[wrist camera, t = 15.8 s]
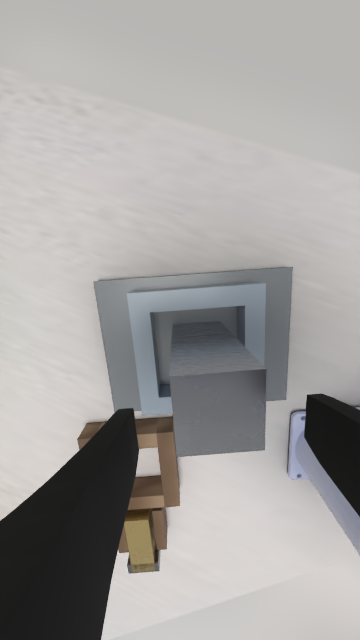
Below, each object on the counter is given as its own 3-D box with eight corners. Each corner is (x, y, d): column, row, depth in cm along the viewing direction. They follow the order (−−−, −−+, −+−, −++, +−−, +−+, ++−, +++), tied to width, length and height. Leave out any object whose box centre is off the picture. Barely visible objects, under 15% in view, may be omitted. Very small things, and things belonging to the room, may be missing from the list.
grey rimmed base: (285, 267, 17) (308, 265, 14) (280, 393, 20) (298, 414, 17) (98, 281, 17) (82, 282, 14) (117, 405, 20) (107, 428, 17)
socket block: (173, 416, 20) (172, 432, 18) (182, 524, 23) (183, 547, 21) (86, 423, 20) (77, 439, 18) (108, 530, 23) (102, 554, 21)
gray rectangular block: (219, 320, 17) (266, 368, 8) (221, 364, 18) (264, 450, 9) (172, 324, 17) (169, 376, 8) (176, 368, 18) (176, 456, 9)
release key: (154, 493, 22) (152, 519, 20) (160, 541, 23) (159, 571, 21) (125, 495, 22) (119, 522, 20) (133, 543, 23) (128, 573, 21)
